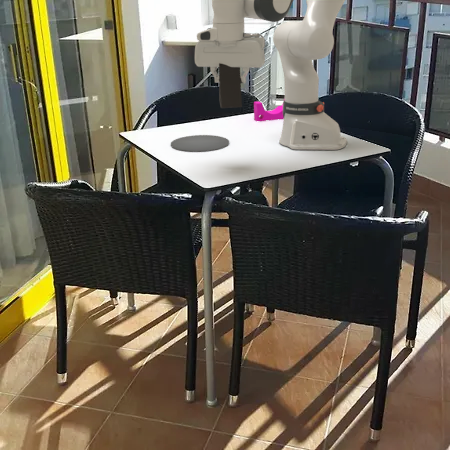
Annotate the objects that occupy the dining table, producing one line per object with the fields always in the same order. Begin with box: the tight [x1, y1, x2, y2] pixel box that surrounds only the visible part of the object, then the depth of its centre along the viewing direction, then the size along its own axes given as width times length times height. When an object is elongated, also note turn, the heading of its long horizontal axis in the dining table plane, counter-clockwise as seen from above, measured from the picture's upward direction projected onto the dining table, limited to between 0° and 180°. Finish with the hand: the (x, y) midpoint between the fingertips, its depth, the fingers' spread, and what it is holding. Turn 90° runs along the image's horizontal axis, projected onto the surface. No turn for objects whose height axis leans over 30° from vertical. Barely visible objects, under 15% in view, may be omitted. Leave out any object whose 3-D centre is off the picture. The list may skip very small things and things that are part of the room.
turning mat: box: [170, 134, 230, 153], centre depth 217 cm, size 20×20×1 cm
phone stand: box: [218, 63, 243, 109], centre depth 184 cm, size 9×6×12 cm, turn 3°
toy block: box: [253, 98, 285, 122], centre depth 247 cm, size 15×6×8 cm, turn 106°
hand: (230, 82), depth 184 cm, fingers closed on phone stand, 6 cm apart
